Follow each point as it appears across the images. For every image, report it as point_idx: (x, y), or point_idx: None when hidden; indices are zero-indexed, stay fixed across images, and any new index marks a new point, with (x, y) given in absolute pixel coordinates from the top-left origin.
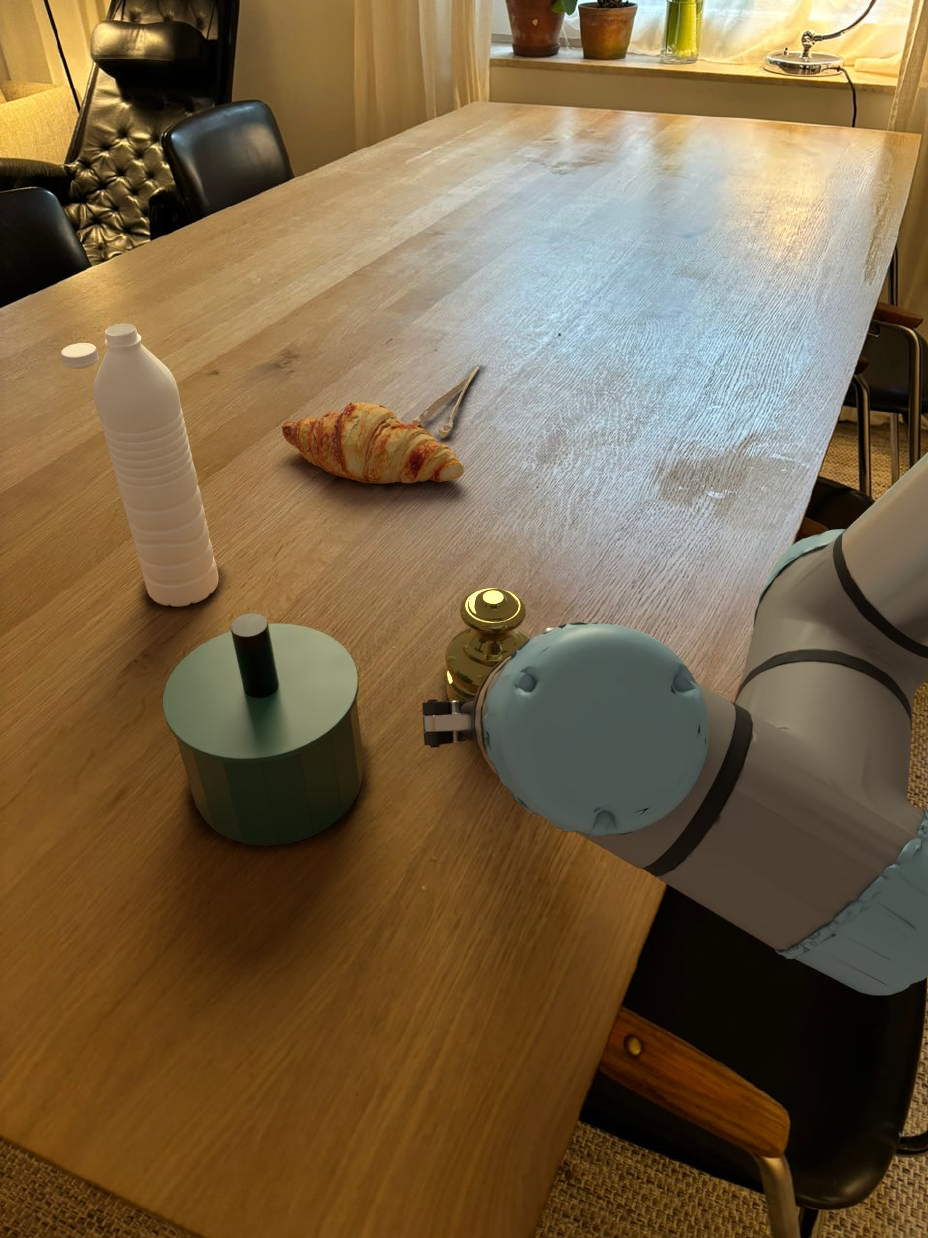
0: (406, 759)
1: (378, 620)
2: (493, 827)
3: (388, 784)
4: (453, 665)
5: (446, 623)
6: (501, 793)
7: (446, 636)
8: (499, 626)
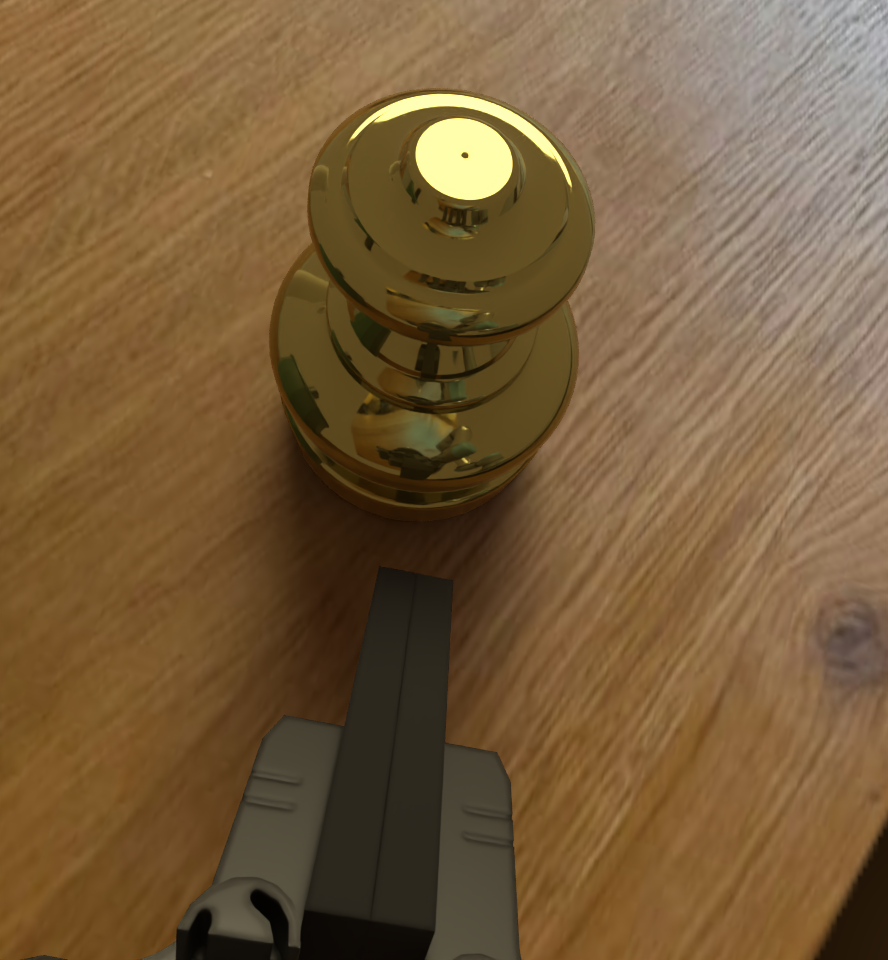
0: (103, 574)
1: (199, 76)
2: None
3: (17, 655)
4: (280, 353)
5: None
6: None
7: None
8: (448, 320)
